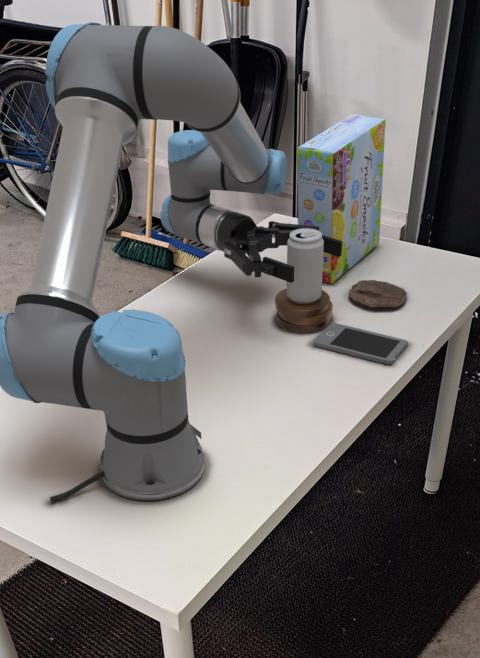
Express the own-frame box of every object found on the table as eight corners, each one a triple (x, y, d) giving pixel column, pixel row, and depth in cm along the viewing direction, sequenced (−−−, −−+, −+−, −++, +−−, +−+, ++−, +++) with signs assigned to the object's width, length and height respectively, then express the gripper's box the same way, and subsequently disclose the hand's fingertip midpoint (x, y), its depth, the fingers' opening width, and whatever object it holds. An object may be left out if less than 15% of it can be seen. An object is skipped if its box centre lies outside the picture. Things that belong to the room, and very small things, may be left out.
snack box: (344, 237, 187) (350, 111, 170) (380, 245, 183) (390, 118, 166) (294, 276, 174) (295, 144, 156) (331, 286, 170) (337, 151, 153)
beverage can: (281, 293, 158) (282, 229, 150) (314, 287, 160) (316, 224, 152) (293, 308, 154) (294, 243, 146) (326, 302, 155) (329, 238, 147)
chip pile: (308, 339, 154) (308, 316, 151) (264, 322, 159) (264, 300, 156) (342, 318, 160) (344, 295, 157) (299, 302, 165) (300, 280, 162)
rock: (406, 287, 169) (408, 274, 168) (406, 313, 160) (407, 300, 159) (350, 283, 171) (351, 271, 169) (346, 309, 162) (347, 296, 160)
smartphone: (408, 344, 152) (409, 340, 151) (390, 365, 146) (391, 361, 146) (332, 325, 158) (332, 321, 157) (312, 345, 152) (312, 341, 152)
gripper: (271, 230, 170) (358, 258, 159) (183, 273, 157) (271, 306, 146) (271, 192, 165) (360, 218, 154) (180, 232, 152) (271, 264, 141)
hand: (317, 261), depth 150 cm, fingers open, 13 cm apart
